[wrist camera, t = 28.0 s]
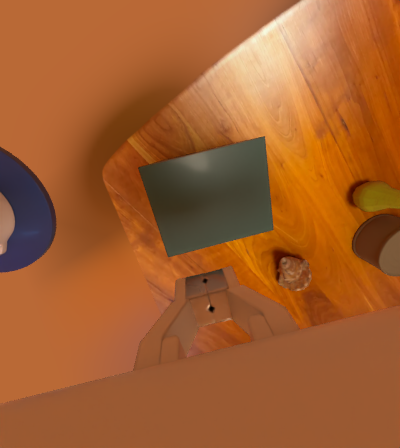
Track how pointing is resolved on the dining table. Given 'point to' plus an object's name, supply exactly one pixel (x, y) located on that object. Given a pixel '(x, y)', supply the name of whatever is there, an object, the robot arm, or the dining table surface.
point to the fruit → (376, 196)
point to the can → (380, 243)
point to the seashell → (294, 273)
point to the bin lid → (210, 196)
